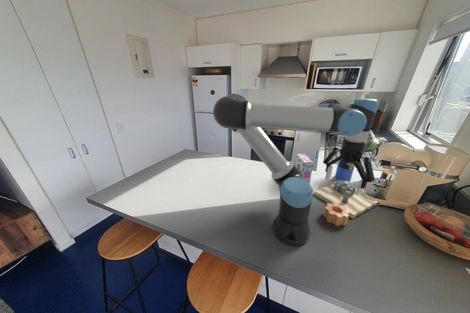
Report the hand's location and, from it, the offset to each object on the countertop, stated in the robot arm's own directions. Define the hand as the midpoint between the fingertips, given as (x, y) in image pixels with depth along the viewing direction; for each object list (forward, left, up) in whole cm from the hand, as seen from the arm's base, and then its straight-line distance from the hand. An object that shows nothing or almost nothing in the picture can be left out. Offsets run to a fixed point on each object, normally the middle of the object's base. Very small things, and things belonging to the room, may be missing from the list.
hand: (341, 185), depth 77 cm
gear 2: (-1, -1, -17) cm, 17 cm away
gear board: (+18, +6, -17) cm, 25 cm away
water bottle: (+37, +20, -17) cm, 45 cm away
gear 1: (+22, +9, -15) cm, 28 cm away
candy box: (+11, +31, -17) cm, 37 cm away
